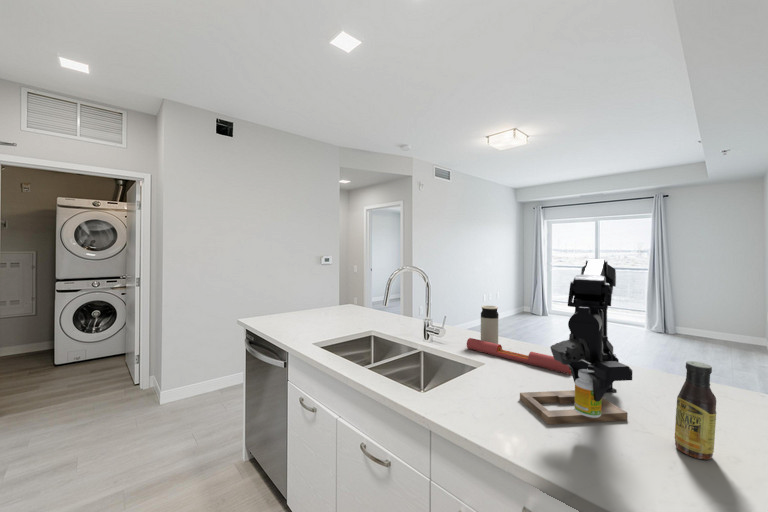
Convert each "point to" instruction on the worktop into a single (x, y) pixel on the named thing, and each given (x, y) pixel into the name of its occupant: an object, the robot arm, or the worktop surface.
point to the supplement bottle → (586, 396)
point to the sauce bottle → (696, 413)
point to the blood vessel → (518, 355)
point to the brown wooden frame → (568, 416)
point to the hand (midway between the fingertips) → (587, 395)
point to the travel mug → (489, 324)
